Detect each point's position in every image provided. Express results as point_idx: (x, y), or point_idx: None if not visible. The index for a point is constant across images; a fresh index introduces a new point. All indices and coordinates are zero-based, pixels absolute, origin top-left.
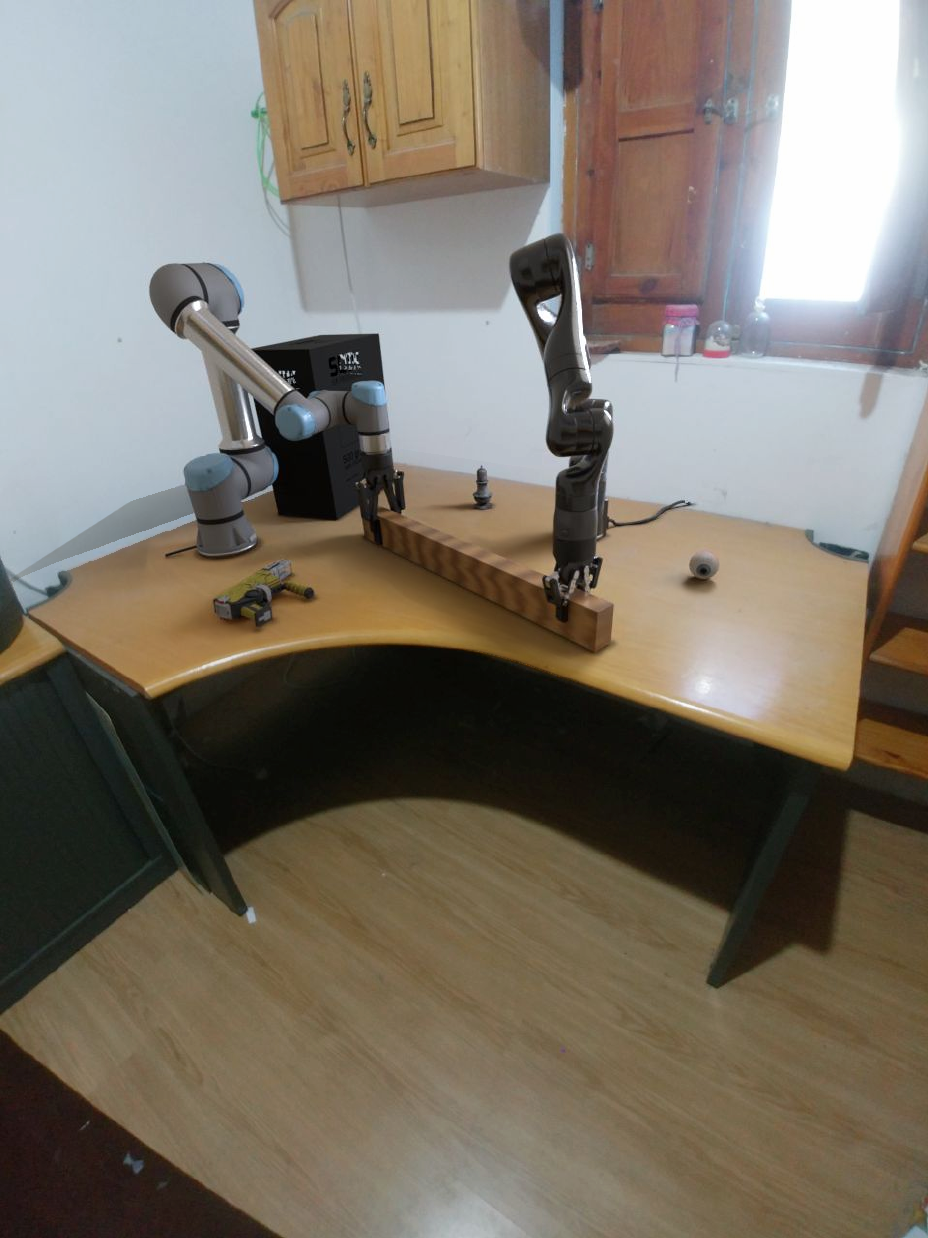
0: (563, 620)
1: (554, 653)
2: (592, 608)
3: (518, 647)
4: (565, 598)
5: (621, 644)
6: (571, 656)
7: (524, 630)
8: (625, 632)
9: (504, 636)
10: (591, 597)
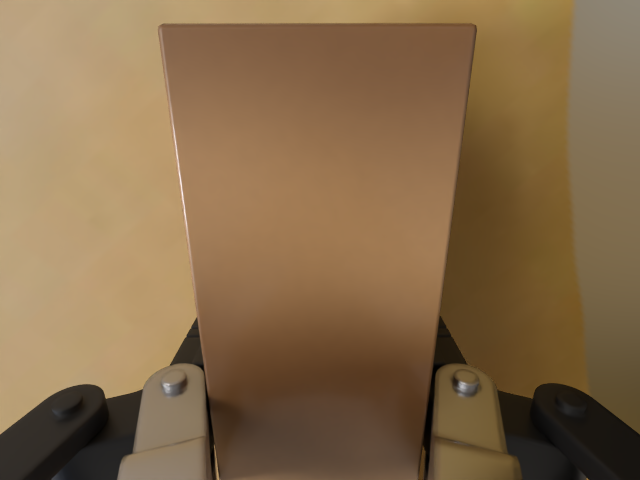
0: None
1: (511, 204)
2: (432, 137)
3: (559, 332)
4: (492, 421)
5: (219, 16)
6: (486, 131)
7: None
8: (113, 83)
9: None
10: (249, 295)
